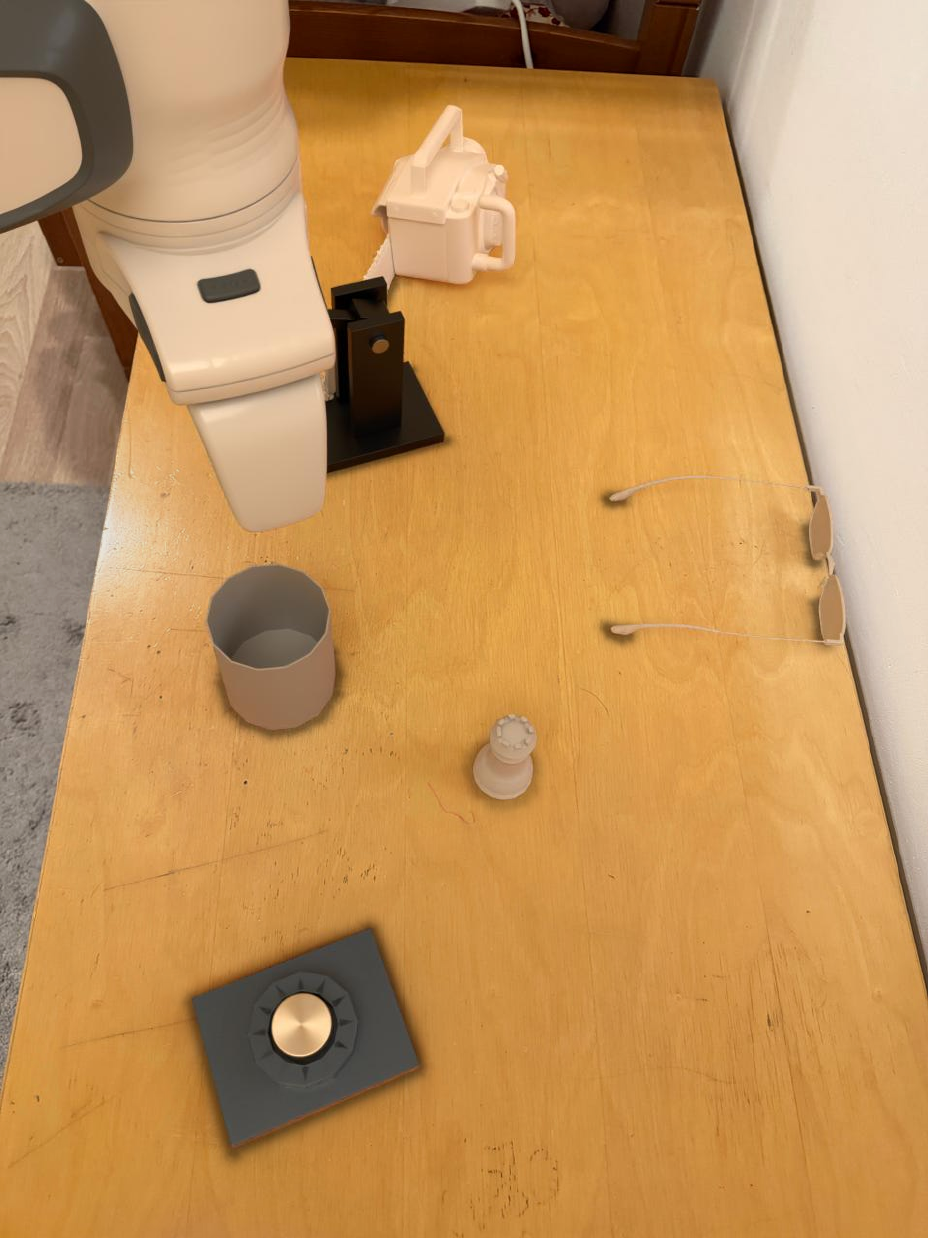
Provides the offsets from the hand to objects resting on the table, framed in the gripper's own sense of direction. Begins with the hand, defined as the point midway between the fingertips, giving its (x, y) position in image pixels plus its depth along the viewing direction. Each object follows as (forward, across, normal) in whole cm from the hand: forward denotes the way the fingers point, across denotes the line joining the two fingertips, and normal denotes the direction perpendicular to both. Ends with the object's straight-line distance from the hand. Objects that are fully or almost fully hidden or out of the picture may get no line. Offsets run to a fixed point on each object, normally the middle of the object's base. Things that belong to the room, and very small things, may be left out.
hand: (234, 434), depth 52 cm
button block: (+29, +25, -6) cm, 39 cm away
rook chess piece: (+29, +13, +13) cm, 35 cm away
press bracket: (+29, -22, +15) cm, 39 cm away
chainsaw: (+29, -34, +26) cm, 52 cm away
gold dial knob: (+25, +25, -6) cm, 36 cm away
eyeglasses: (+29, +3, +37) cm, 47 cm away
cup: (+29, 0, 0) cm, 29 cm away
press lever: (+16, -22, +8) cm, 28 cm away
